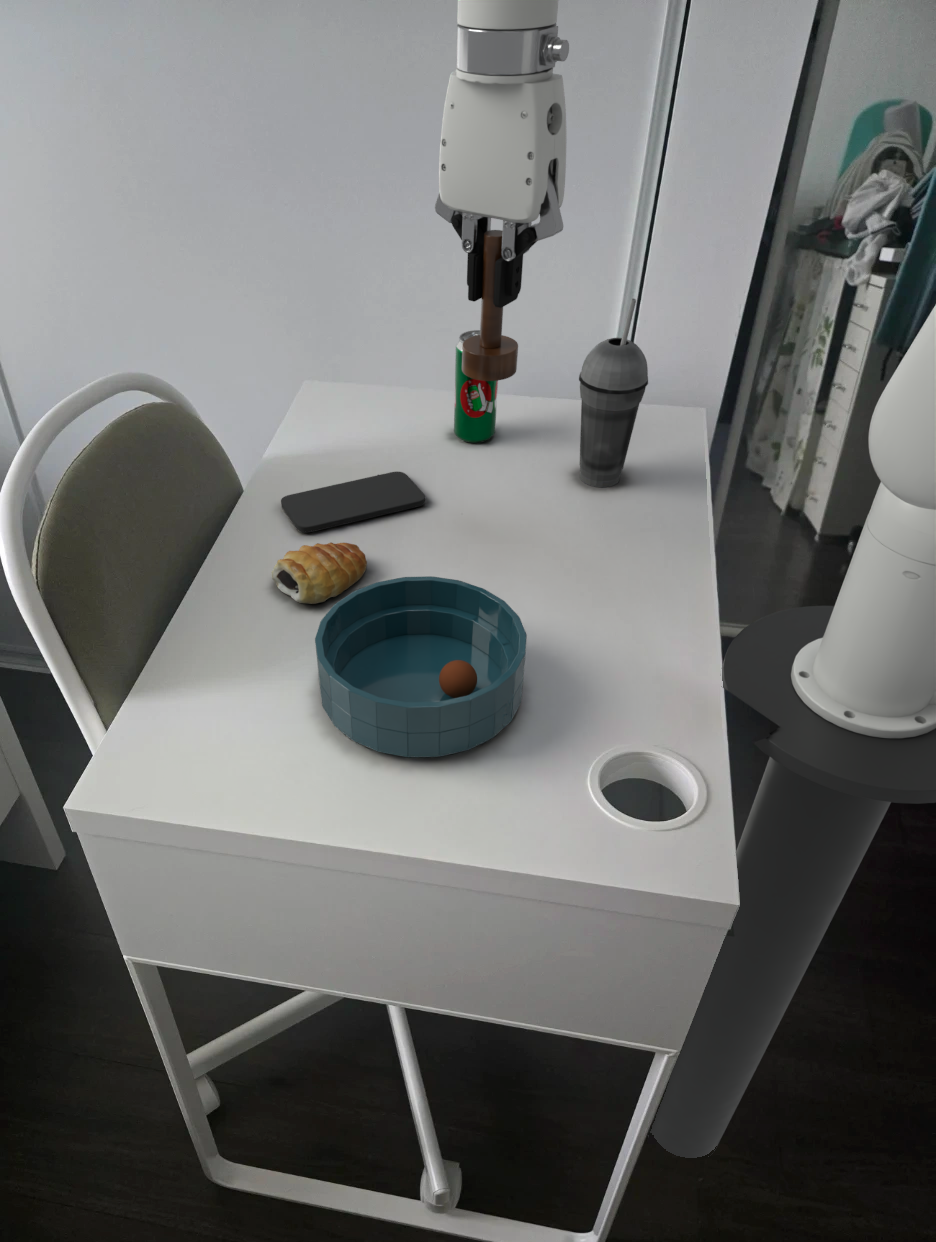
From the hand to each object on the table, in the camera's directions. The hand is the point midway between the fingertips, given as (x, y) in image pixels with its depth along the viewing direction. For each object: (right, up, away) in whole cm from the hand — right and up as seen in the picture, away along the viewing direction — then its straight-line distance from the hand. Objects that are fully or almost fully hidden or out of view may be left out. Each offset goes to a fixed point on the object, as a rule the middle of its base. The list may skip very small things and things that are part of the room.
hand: (493, 298), depth 85 cm
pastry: (-16, -25, +8) cm, 31 cm away
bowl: (-7, -36, -4) cm, 37 cm away
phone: (-13, -14, +19) cm, 27 cm away
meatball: (-4, -35, -6) cm, 36 cm away
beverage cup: (+15, -11, +23) cm, 29 cm away
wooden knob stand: (0, -5, +4) cm, 7 cm away
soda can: (+1, -3, +31) cm, 31 cm away
